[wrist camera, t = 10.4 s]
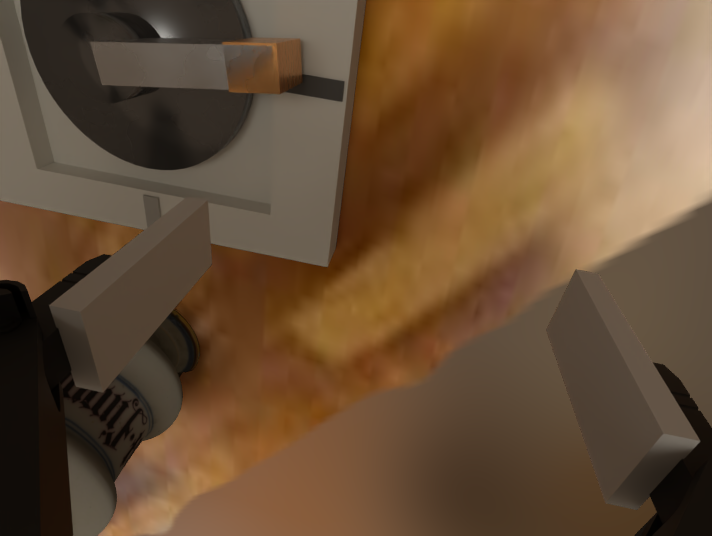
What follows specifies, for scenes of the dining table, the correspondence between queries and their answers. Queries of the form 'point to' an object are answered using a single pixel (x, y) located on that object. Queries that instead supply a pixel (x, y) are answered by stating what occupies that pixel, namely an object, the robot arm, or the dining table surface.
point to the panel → (223, 170)
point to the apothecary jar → (123, 419)
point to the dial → (156, 73)
